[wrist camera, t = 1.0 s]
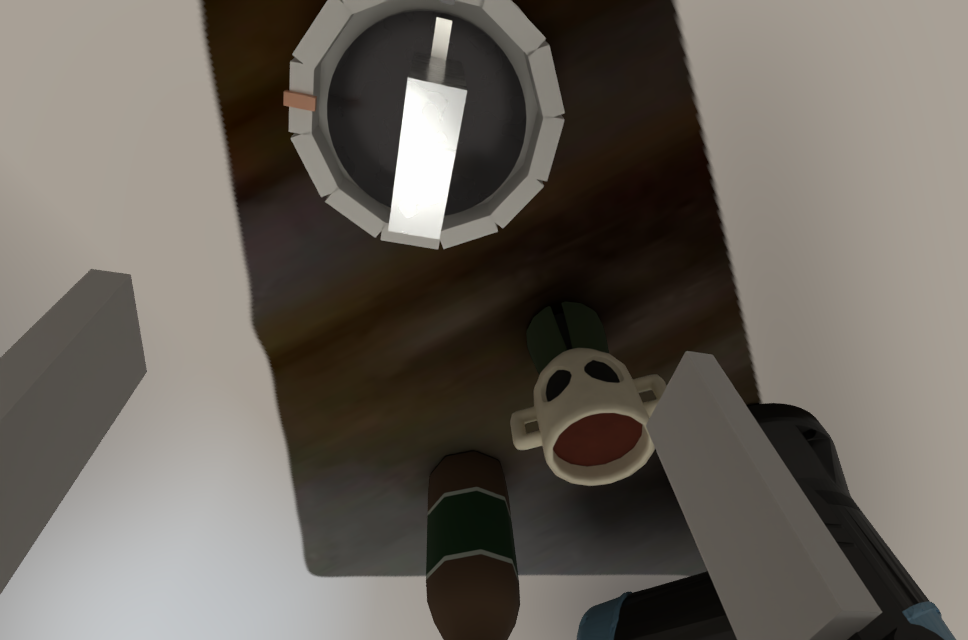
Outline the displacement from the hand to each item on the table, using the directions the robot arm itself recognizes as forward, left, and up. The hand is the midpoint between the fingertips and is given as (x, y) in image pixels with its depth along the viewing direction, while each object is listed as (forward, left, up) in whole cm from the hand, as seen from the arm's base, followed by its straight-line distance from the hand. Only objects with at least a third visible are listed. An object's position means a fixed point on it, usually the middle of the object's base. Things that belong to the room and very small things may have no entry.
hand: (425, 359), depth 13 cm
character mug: (-20, -4, -26) cm, 33 cm away
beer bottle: (-34, +9, -26) cm, 43 cm away
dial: (0, 0, -22) cm, 22 cm away
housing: (0, 0, -26) cm, 26 cm away
